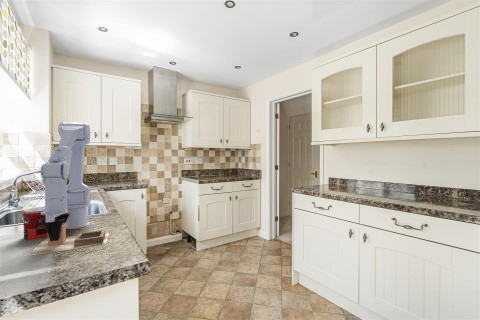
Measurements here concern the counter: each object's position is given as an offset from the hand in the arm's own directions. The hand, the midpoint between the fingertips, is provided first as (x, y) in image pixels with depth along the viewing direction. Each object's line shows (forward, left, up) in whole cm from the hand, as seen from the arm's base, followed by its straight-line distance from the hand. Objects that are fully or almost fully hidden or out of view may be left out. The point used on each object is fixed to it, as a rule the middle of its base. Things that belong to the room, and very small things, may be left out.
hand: (57, 237), depth 77 cm
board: (+2, +5, -3) cm, 6 cm away
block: (0, 0, -2) cm, 2 cm away
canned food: (-11, -8, -3) cm, 14 cm away
